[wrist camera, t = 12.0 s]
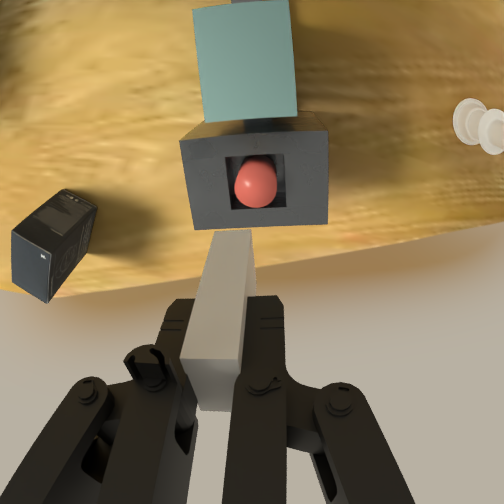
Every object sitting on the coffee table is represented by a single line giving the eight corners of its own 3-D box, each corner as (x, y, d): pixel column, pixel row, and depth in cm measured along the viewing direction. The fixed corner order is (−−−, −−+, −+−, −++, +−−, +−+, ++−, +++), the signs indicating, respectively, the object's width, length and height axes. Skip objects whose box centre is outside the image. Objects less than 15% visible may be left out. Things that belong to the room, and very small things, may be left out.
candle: (469, 154, 29) (534, 198, 19) (443, 119, 27) (511, 152, 17) (495, 124, 26) (565, 158, 16) (471, 88, 25) (545, 109, 15)
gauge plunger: (241, 190, 25) (236, 208, 22) (237, 155, 24) (232, 170, 21) (277, 188, 25) (277, 206, 22) (275, 153, 23) (275, 167, 20)
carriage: (225, 106, 28) (205, 122, 20) (216, 26, 24) (192, 9, 16) (290, 102, 27) (297, 116, 19) (283, 20, 23) (288, -1, 15)
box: (62, 187, 34) (10, 229, 25) (99, 206, 35) (52, 254, 26) (53, 236, 38) (10, 283, 29) (87, 254, 39) (47, 306, 30)
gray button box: (215, 184, 33) (194, 230, 25) (207, 118, 29) (179, 140, 21) (313, 179, 32) (327, 224, 24) (311, 111, 28) (328, 130, 20)
